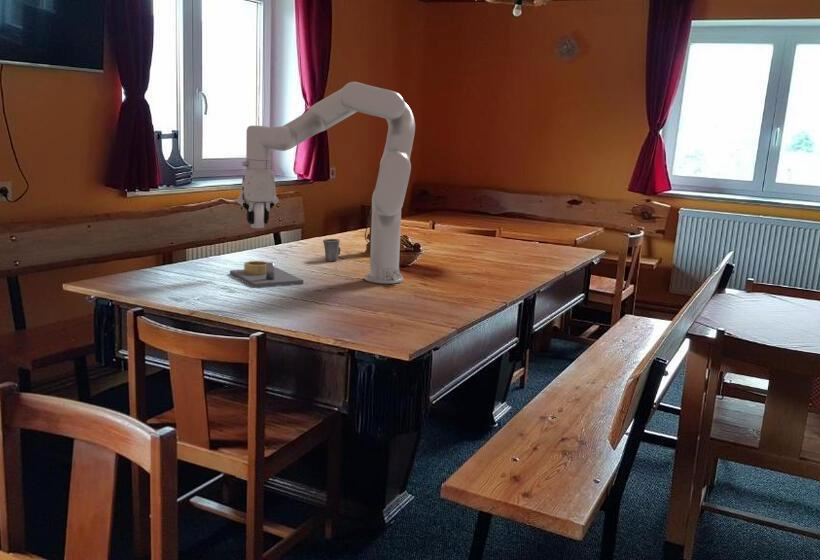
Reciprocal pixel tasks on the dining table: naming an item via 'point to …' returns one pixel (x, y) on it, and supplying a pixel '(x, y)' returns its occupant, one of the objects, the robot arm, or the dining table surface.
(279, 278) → the fitting board
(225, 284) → the dining table surface
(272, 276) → the small stub
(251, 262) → the brass socket
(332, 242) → the grey mug
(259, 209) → the white rounded peg
